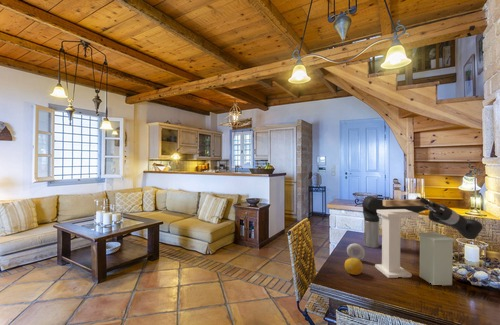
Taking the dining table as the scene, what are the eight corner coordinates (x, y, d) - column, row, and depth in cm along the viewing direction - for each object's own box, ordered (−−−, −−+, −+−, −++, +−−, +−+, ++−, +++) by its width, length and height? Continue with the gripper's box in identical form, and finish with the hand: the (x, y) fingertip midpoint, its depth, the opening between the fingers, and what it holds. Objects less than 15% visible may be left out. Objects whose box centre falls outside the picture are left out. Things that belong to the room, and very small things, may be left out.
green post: (436, 275, 125) (437, 232, 124) (454, 285, 115) (454, 239, 114) (417, 275, 124) (418, 233, 124) (433, 286, 114) (434, 239, 114)
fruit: (344, 275, 125) (344, 260, 125) (344, 268, 132) (344, 254, 132) (363, 278, 122) (363, 263, 122) (362, 271, 129) (362, 256, 129)
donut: (346, 259, 144) (346, 243, 144) (347, 257, 147) (347, 241, 147) (365, 263, 139) (365, 245, 139) (365, 260, 142) (365, 243, 142)
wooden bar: (426, 204, 130) (426, 198, 130) (430, 205, 127) (430, 199, 127) (382, 205, 129) (382, 199, 129) (385, 206, 126) (385, 200, 126)
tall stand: (403, 266, 135) (403, 208, 134) (419, 276, 123) (420, 213, 122) (375, 267, 134) (375, 209, 133) (388, 277, 122) (389, 214, 121)
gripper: (438, 205, 136) (412, 190, 135) (461, 211, 122) (432, 194, 121) (431, 217, 136) (406, 202, 135) (453, 224, 122) (425, 207, 121)
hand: (418, 198), depth 128 cm, fingers closed on wooden bar, 2 cm apart
